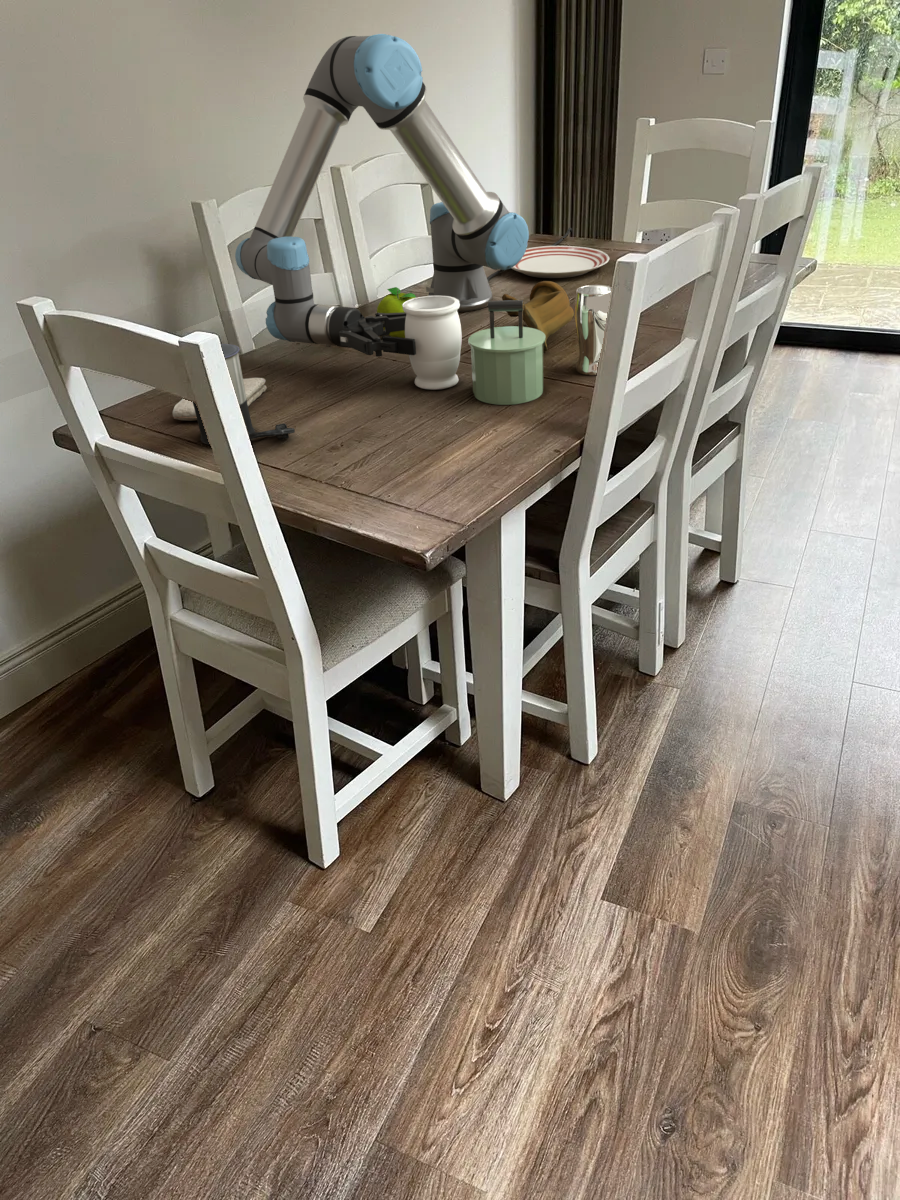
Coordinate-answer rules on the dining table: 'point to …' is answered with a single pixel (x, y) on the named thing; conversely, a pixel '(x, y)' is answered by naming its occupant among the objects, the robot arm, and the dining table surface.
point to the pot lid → (506, 332)
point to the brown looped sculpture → (545, 308)
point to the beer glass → (591, 325)
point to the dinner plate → (560, 261)
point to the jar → (434, 340)
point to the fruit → (394, 306)
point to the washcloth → (252, 391)
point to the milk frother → (242, 399)
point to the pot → (507, 376)
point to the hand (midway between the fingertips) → (433, 336)
